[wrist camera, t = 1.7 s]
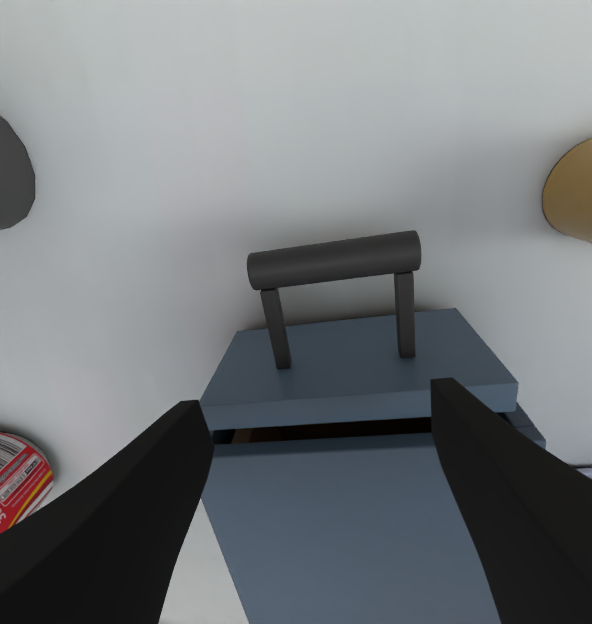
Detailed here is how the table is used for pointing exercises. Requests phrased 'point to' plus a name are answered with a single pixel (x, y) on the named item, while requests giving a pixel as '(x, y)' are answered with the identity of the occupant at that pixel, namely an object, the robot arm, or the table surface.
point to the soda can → (21, 479)
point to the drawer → (347, 354)
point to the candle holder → (14, 178)
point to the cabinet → (347, 530)
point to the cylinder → (571, 193)
